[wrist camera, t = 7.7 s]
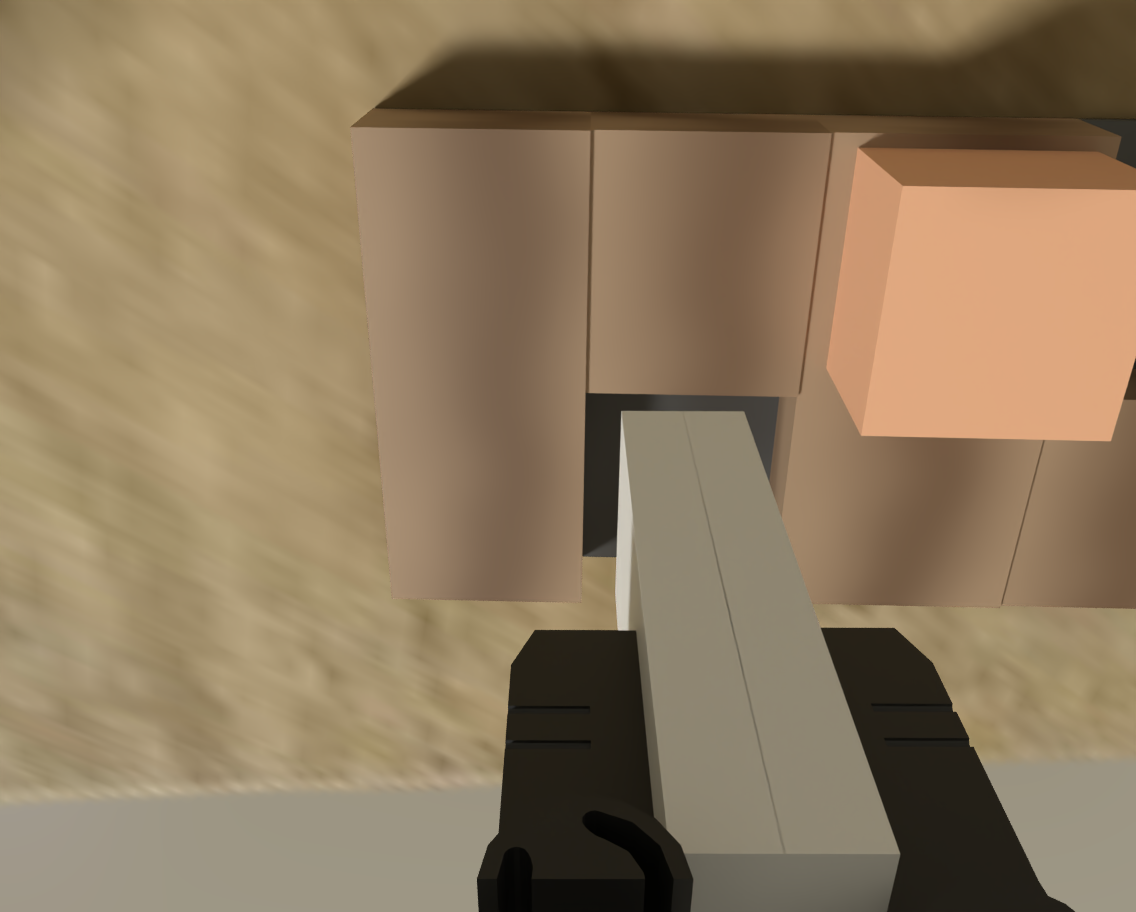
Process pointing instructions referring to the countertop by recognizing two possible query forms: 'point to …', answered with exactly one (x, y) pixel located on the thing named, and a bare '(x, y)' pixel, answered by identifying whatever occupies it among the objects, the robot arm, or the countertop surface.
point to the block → (986, 294)
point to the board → (685, 356)
